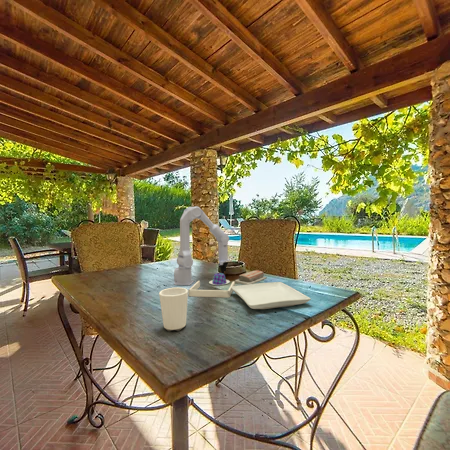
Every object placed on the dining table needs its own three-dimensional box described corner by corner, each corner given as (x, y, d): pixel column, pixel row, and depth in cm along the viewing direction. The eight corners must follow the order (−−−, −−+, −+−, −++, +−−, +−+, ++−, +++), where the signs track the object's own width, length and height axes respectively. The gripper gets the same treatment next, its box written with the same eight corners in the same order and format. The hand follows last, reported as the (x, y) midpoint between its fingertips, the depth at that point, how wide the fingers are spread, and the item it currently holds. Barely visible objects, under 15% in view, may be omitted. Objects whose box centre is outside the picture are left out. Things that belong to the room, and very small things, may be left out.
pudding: (234, 282, 147) (234, 273, 146) (219, 287, 138) (219, 277, 138) (219, 279, 155) (218, 270, 154) (204, 283, 146) (204, 274, 146)
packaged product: (252, 268, 159) (266, 271, 153) (252, 276, 160) (266, 279, 153) (234, 274, 146) (248, 277, 139) (234, 283, 146) (248, 286, 140)
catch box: (188, 296, 123) (188, 290, 123) (198, 286, 140) (198, 280, 140) (229, 297, 120) (229, 291, 120) (234, 287, 137) (234, 281, 136)
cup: (188, 333, 85) (187, 295, 85) (158, 335, 85) (156, 296, 84) (190, 320, 95) (188, 286, 95) (162, 322, 94) (161, 287, 94)
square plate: (249, 314, 99) (249, 304, 99) (230, 293, 125) (229, 285, 125) (311, 306, 106) (311, 297, 106) (280, 288, 132) (280, 280, 132)
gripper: (227, 254, 151) (228, 277, 152) (231, 250, 166) (231, 271, 166) (215, 254, 153) (216, 277, 153) (220, 250, 167) (221, 271, 168)
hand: (223, 274), depth 160 cm, fingers closed
